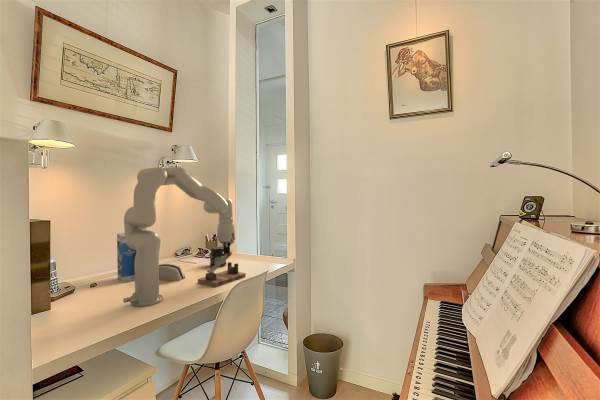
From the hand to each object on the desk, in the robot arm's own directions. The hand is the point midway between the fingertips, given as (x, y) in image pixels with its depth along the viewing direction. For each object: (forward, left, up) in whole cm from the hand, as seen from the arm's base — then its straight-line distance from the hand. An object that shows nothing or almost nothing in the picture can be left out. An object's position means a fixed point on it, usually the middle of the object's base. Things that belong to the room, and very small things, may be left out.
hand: (226, 253), depth 166 cm
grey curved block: (-19, +27, -15) cm, 36 cm away
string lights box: (-31, +46, -14) cm, 58 cm away
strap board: (-3, 0, -14) cm, 15 cm away
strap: (-4, 0, -5) cm, 6 cm away
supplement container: (+18, +27, -14) cm, 35 cm away
